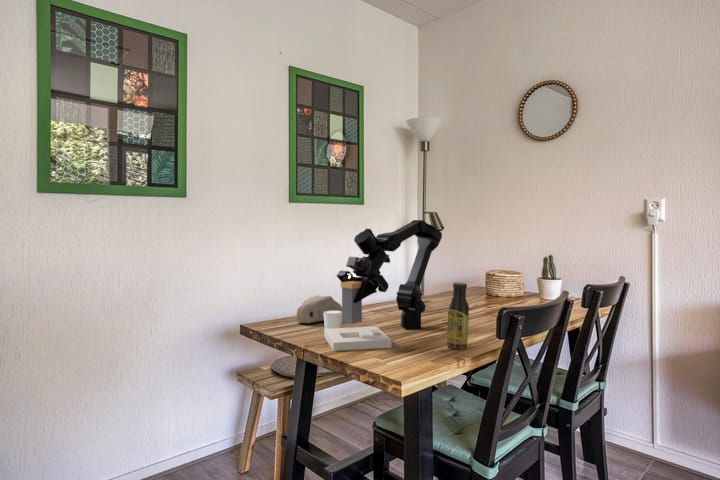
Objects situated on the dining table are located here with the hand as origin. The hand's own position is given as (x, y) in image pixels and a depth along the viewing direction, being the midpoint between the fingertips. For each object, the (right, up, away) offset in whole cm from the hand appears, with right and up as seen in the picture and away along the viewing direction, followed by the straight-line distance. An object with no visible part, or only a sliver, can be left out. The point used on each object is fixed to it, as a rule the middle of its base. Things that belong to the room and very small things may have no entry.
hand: (348, 301), depth 141 cm
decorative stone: (-13, -13, +33) cm, 38 cm away
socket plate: (+2, -13, +3) cm, 14 cm away
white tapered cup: (-6, -13, +17) cm, 22 cm away
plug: (+1, -7, +1) cm, 7 cm away
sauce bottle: (+33, -14, -3) cm, 36 cm away
